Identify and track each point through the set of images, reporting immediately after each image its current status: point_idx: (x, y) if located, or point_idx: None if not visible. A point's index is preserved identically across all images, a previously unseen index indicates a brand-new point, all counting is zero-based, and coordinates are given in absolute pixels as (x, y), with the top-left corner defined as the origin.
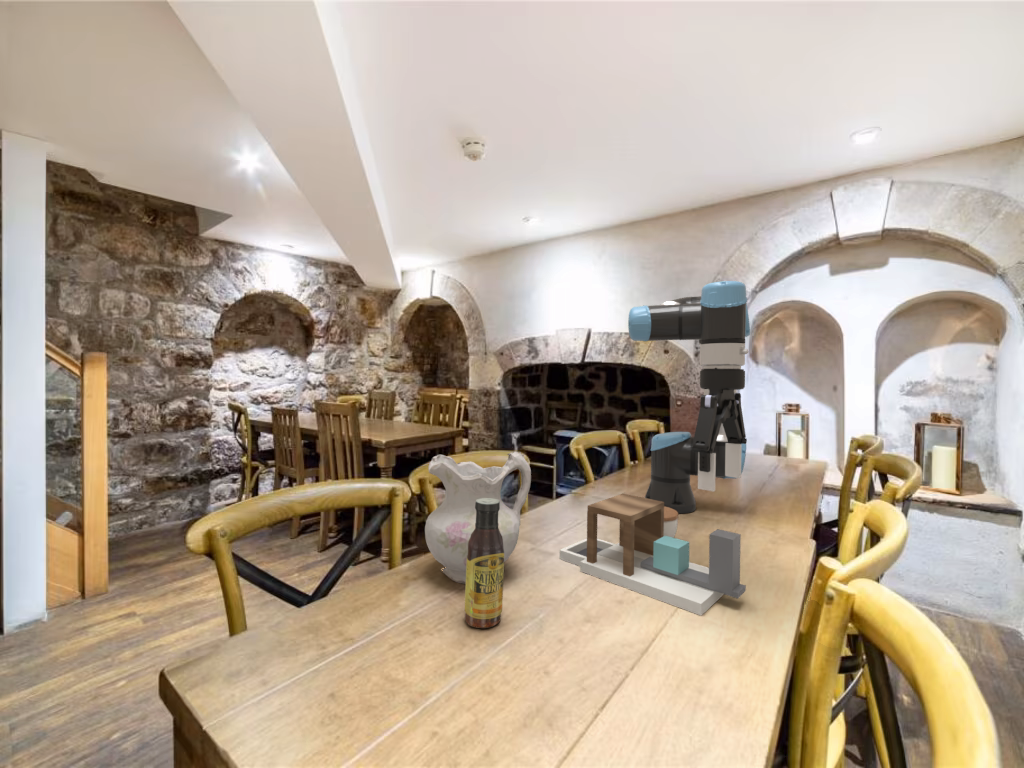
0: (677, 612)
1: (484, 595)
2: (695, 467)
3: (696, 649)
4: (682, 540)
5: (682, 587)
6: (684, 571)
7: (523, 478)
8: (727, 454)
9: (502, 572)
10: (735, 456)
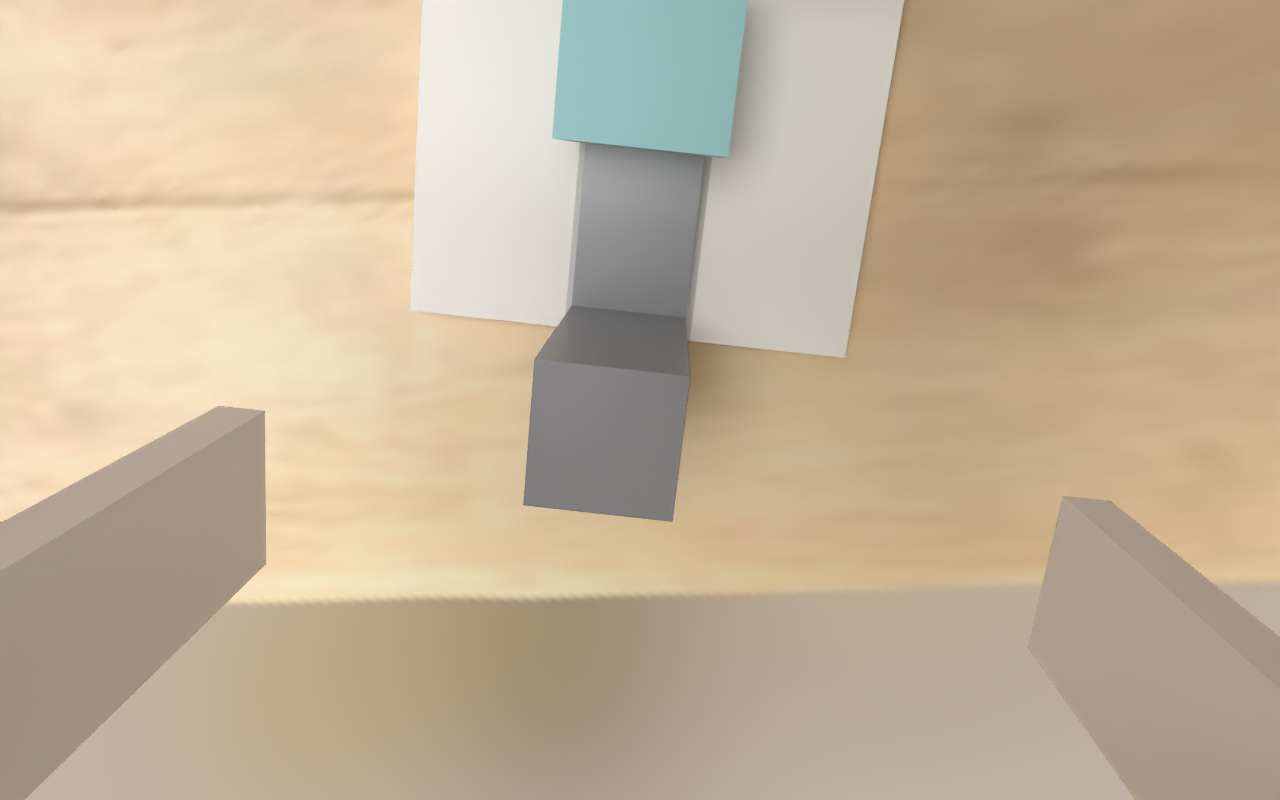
0: (382, 209)
1: None
2: None
3: (167, 356)
4: (726, 108)
5: (519, 185)
6: (643, 154)
7: None
8: (1204, 662)
9: None
10: (1165, 761)
